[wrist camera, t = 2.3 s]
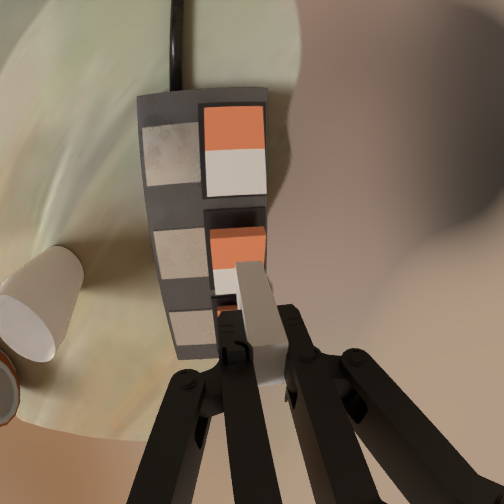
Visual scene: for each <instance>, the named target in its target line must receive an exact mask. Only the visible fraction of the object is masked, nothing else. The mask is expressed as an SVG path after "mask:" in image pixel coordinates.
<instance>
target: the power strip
mask: <svg viewBox="0 0 504 504" xmlns="http://www.w3.org/2000/svg"><path fill="white" fill-rule="evenodd" d="M183 4H184V0H171V18H170V92H163V93H155V94H148V95H142V96H137V117H138V134H139V147H140V159H141V169H142V178H143V187H144V195H145V203H146V210H147V217H148V224H149V230H150V236H151V242H152V248H153V254H154V259H155V264H156V270H157V275H158V280H159V284H160V289H161V294H162V298H163V303H164V307H165V311H166V316H167V320H168V324H169V328H170V332H171V336H172V340H173V343H174V347H175V351H176V354H177V358H178V360H190V359H209V358H219V354H218V351H219V335H218V314H217V306H230V305H237V294H222V295H216V294H215V285H214V275H213V265H212V255H211V244H210V230H212V229H227V228H244V227H261V226H264V229H265V233H266V245H265V258H264V270H265V273H266V257H267V194H250V195H230V196H213V197H207V184H206V161H205V129H204V108H207V107H229V106H263V121H264V141H265V164H266V188H267V193H268V88H264V87H231V88H207V89H192V90H182V34H183Z"/></svg>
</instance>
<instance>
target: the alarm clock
mask: <svg viewBox="0 0 504 504" xmlns="http://www.w3.org/2000/svg"><path fill="white" fill-rule="evenodd" d="M19 404H20V386H19V382H18V378H17V375H16V369H15V367H14V366H13V364H12V362H11V361H10V359H9V357H8V356H7V355H6V354H5V353H4V352H3V351H2V350H1V349H0V427H1V426H4V425H7V424H8V423H9V422H10V421H11V420H12V419H13V417H14V416H15V415H16V412H17V409H18V406H19Z"/></svg>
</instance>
